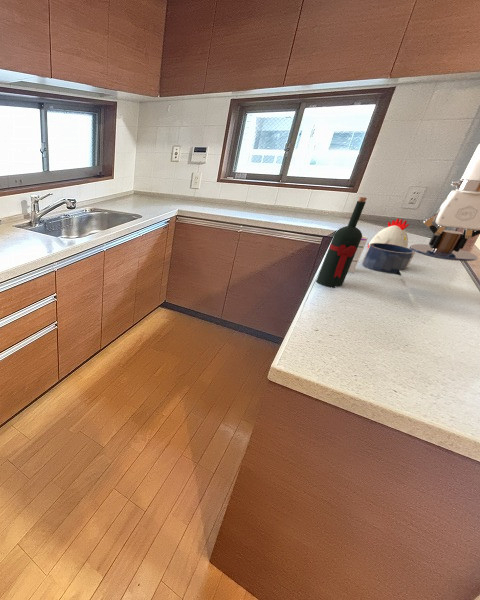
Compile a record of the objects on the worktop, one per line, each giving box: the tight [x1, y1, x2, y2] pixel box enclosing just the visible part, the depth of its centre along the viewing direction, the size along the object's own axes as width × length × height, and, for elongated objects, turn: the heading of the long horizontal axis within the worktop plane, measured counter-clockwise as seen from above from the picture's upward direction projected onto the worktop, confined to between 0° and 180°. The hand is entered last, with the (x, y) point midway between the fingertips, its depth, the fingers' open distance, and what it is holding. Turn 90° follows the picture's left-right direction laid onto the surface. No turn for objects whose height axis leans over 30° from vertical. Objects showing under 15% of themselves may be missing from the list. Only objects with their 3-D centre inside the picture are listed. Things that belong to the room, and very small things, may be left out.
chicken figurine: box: [367, 218, 410, 249], centre depth 152 cm, size 14×14×15 cm
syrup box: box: [348, 234, 369, 273], centre depth 126 cm, size 6×6×14 cm
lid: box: [409, 229, 479, 262], centre depth 99 cm, size 15×15×7 cm
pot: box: [361, 243, 416, 275], centre depth 131 cm, size 14×19×8 cm
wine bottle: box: [315, 196, 367, 289], centre depth 109 cm, size 8×10×30 cm
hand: (443, 248), depth 100 cm, fingers closed on lid, 4 cm apart
